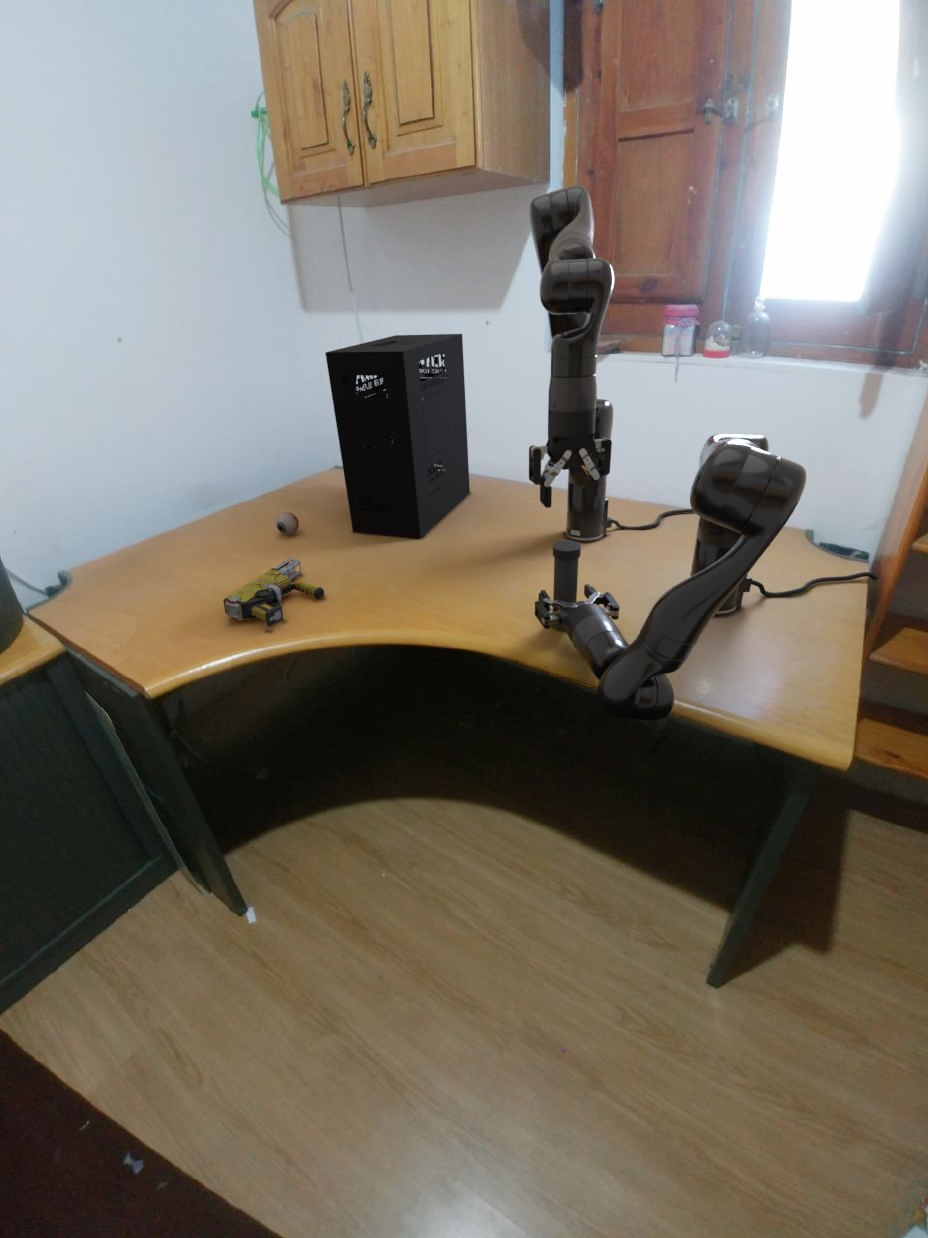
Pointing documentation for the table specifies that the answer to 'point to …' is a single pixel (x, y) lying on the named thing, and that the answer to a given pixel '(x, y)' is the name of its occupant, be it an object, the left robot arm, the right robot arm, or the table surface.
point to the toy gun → (268, 594)
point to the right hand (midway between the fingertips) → (564, 591)
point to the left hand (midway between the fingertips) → (568, 503)
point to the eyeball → (287, 523)
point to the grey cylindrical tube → (565, 582)
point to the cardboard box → (401, 431)
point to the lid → (566, 550)
